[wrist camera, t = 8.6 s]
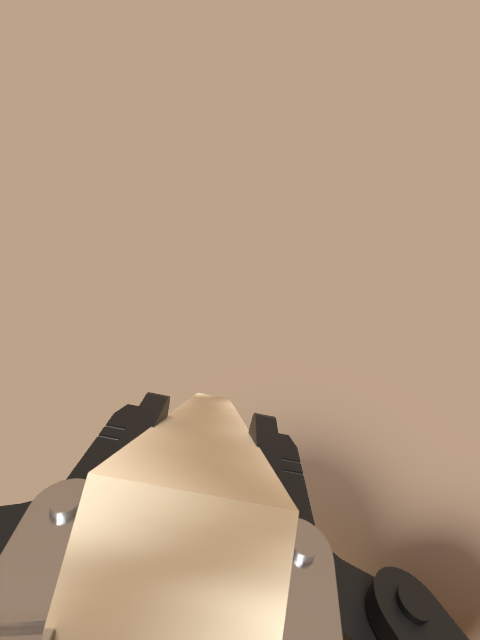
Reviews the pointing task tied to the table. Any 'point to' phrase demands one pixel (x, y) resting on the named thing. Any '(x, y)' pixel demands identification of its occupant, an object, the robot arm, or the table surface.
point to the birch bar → (180, 537)
